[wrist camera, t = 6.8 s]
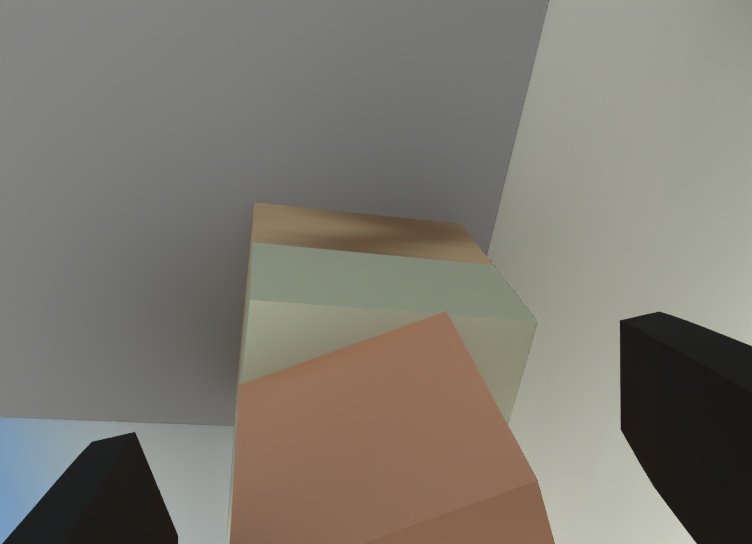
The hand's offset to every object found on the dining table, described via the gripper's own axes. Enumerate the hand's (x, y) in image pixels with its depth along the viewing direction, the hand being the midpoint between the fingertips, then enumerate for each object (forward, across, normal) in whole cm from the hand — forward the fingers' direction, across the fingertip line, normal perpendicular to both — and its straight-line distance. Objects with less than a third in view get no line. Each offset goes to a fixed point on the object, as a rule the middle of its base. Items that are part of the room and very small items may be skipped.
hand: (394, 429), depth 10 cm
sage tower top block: (+7, 0, +3) cm, 7 cm away
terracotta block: (+4, 0, +3) cm, 5 cm away
